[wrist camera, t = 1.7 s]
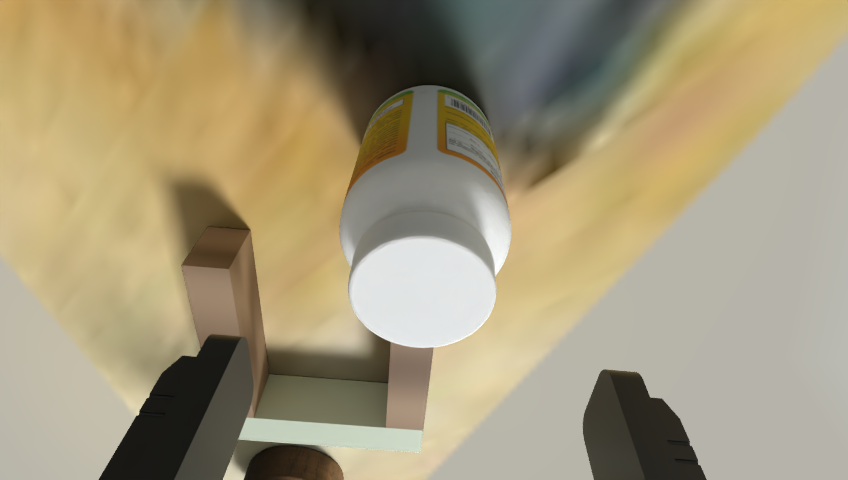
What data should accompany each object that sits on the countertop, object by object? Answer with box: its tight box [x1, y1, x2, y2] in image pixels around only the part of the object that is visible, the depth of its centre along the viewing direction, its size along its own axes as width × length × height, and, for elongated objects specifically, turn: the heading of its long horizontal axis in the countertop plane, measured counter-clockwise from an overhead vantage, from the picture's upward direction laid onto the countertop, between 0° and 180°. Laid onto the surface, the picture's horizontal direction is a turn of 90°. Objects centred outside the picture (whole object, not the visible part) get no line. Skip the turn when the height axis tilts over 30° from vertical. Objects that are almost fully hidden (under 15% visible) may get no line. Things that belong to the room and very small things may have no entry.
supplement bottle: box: [339, 85, 511, 348], centre depth 18 cm, size 5×5×10 cm
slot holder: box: [181, 227, 433, 453], centre depth 27 cm, size 12×11×3 cm
